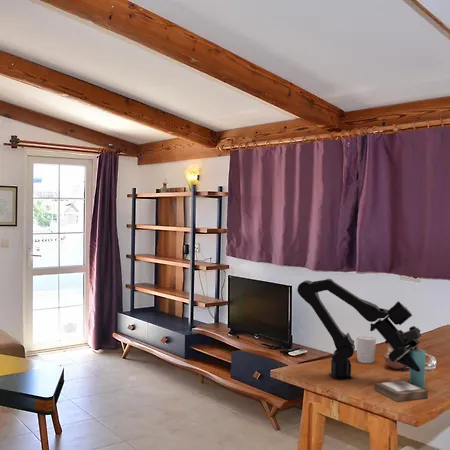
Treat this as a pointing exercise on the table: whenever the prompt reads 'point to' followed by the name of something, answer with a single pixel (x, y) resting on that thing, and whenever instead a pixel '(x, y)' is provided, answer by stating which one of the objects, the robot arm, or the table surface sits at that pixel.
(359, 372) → the table surface
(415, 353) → the teal cylinder
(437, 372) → the table surface
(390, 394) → the picture frame
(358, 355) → the white cup
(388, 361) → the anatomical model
